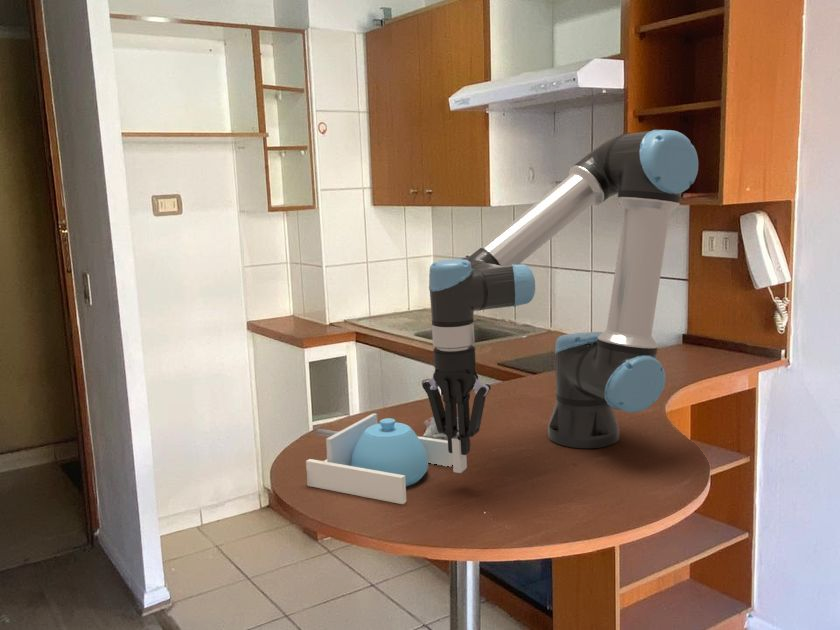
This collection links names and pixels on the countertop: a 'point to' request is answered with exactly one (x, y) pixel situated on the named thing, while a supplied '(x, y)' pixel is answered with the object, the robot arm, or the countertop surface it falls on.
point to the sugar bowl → (391, 451)
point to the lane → (372, 475)
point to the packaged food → (434, 430)
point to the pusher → (345, 440)
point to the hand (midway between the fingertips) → (460, 469)
